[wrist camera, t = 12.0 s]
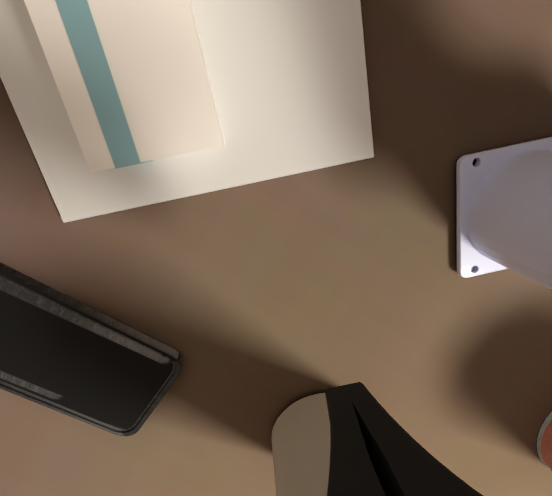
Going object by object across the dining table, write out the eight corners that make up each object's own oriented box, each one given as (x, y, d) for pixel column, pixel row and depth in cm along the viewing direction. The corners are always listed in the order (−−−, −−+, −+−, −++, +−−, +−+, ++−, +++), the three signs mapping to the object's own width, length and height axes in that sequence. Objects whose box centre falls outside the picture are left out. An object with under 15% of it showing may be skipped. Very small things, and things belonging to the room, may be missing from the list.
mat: (342, -167, 14) (344, -175, 14) (371, 156, 19) (374, 157, 18) (-66, -90, 14) (-75, -97, 13) (67, 221, 18) (63, 222, 18)
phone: (-55, 245, 18) (187, 363, 21) (-38, 239, 19) (189, 353, 22) (-102, 349, 19) (130, 442, 23) (-84, 338, 20) (135, 428, 24)
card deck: (164, -98, 12) (-3, -67, 12) (223, 146, 15) (90, 173, 15) (176, -62, 14) (34, -36, 14) (225, 145, 17) (109, 169, 17)
